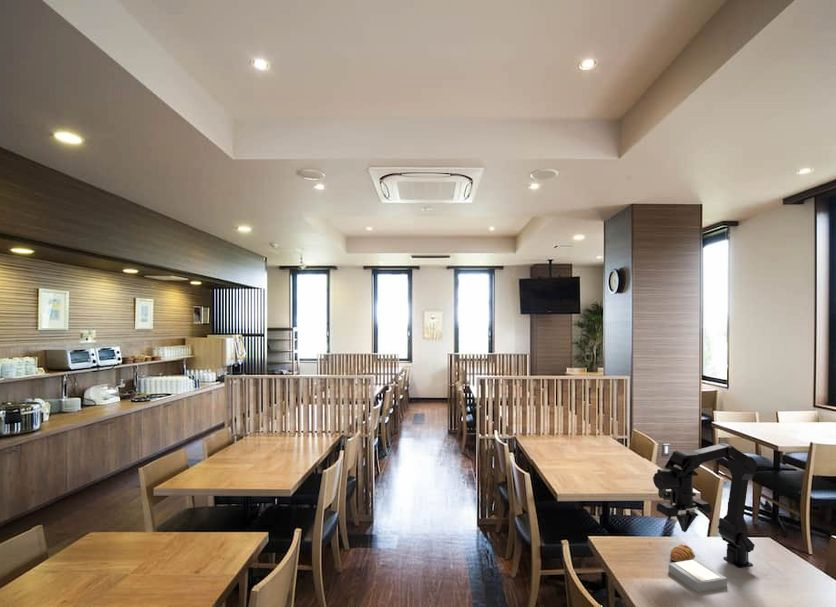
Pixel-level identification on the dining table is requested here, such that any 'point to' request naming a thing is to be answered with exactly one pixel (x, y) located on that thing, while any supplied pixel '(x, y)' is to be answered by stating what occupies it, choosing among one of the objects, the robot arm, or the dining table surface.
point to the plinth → (697, 575)
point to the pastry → (682, 553)
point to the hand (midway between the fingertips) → (684, 531)
